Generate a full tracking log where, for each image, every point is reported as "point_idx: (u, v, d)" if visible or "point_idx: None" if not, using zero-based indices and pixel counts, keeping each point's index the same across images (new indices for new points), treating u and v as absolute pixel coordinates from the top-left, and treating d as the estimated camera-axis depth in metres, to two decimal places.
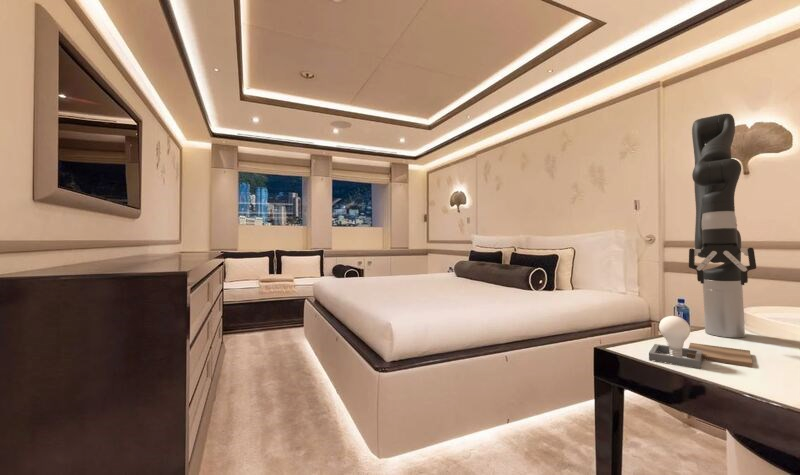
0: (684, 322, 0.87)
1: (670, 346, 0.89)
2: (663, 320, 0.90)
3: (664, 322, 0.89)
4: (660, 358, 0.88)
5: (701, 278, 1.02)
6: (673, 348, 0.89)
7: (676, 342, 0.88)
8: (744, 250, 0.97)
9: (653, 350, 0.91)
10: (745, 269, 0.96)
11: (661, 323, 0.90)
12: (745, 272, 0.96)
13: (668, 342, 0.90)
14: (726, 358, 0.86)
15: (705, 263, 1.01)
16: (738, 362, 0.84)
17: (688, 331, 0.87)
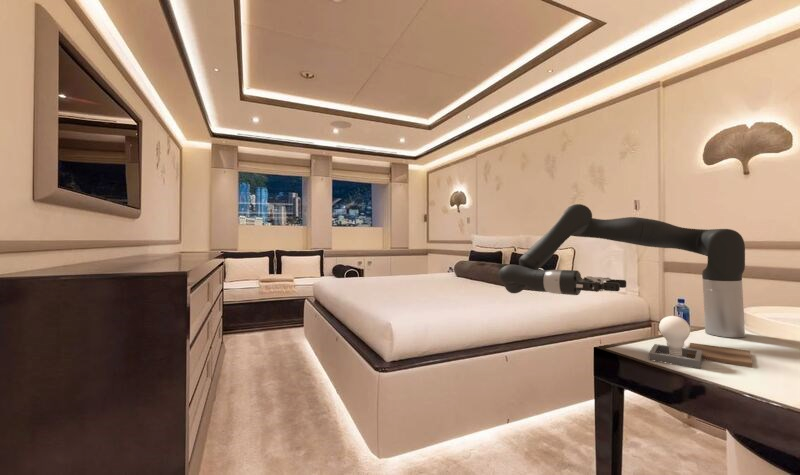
0: (684, 322, 0.87)
1: (670, 346, 0.89)
2: (663, 320, 0.90)
3: (664, 322, 0.89)
4: (660, 358, 0.88)
5: (620, 287, 1.01)
6: (673, 348, 0.89)
7: (676, 342, 0.88)
8: None
9: (653, 350, 0.91)
10: (600, 290, 0.97)
11: (661, 323, 0.90)
12: None
13: (668, 342, 0.90)
14: (726, 358, 0.86)
15: None
16: (738, 362, 0.84)
17: (688, 331, 0.87)
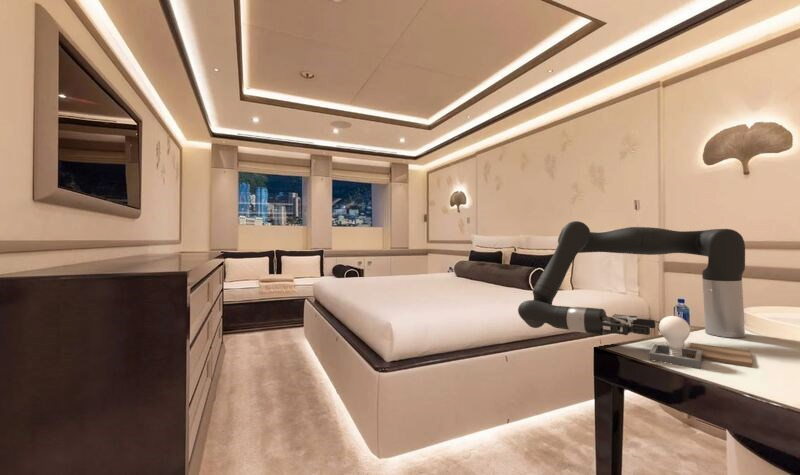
0: (684, 322, 0.87)
1: (670, 346, 0.89)
2: (663, 320, 0.90)
3: (664, 322, 0.89)
4: (660, 358, 0.88)
5: None
6: (673, 348, 0.89)
7: (676, 342, 0.88)
8: None
9: (653, 350, 0.91)
10: (629, 333, 0.92)
11: (661, 323, 0.90)
12: None
13: (668, 342, 0.90)
14: (726, 358, 0.86)
15: None
16: (738, 362, 0.84)
17: (688, 331, 0.87)
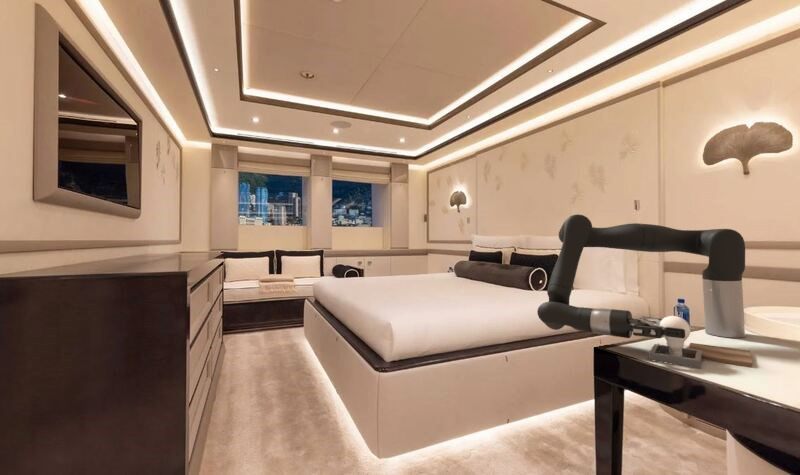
0: (684, 322, 0.87)
1: (670, 346, 0.89)
2: (663, 320, 0.90)
3: (664, 322, 0.89)
4: (660, 358, 0.88)
5: None
6: (673, 348, 0.89)
7: (676, 342, 0.88)
8: None
9: (653, 350, 0.91)
10: (662, 336, 0.88)
11: (661, 323, 0.90)
12: None
13: (668, 342, 0.90)
14: (726, 358, 0.86)
15: None
16: (738, 362, 0.84)
17: (688, 331, 0.87)
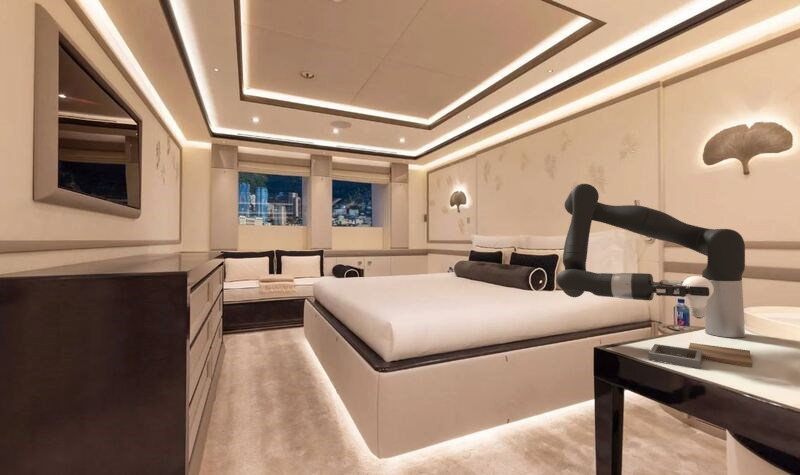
0: (707, 281, 0.88)
1: (693, 306, 0.90)
2: (686, 280, 0.91)
3: (687, 282, 0.90)
4: (660, 358, 0.88)
5: None
6: (697, 308, 0.89)
7: (699, 301, 0.89)
8: None
9: (653, 350, 0.91)
10: (686, 295, 0.88)
11: (684, 283, 0.91)
12: None
13: (691, 302, 0.90)
14: (726, 358, 0.86)
15: None
16: (738, 362, 0.84)
17: (712, 290, 0.87)
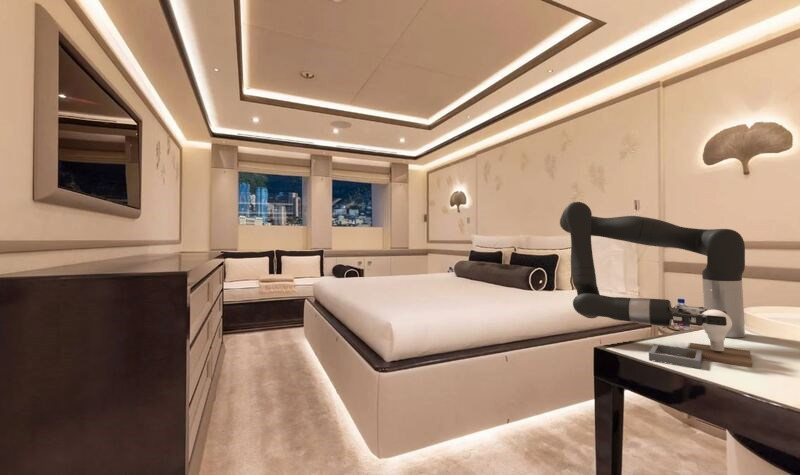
0: (725, 315, 0.89)
1: (711, 339, 0.90)
2: None
3: None
4: (660, 358, 0.88)
5: None
6: (715, 342, 0.90)
7: (718, 335, 0.89)
8: None
9: (653, 350, 0.91)
10: (703, 324, 0.89)
11: None
12: None
13: (709, 335, 0.91)
14: (726, 358, 0.86)
15: None
16: (738, 362, 0.84)
17: (730, 324, 0.88)
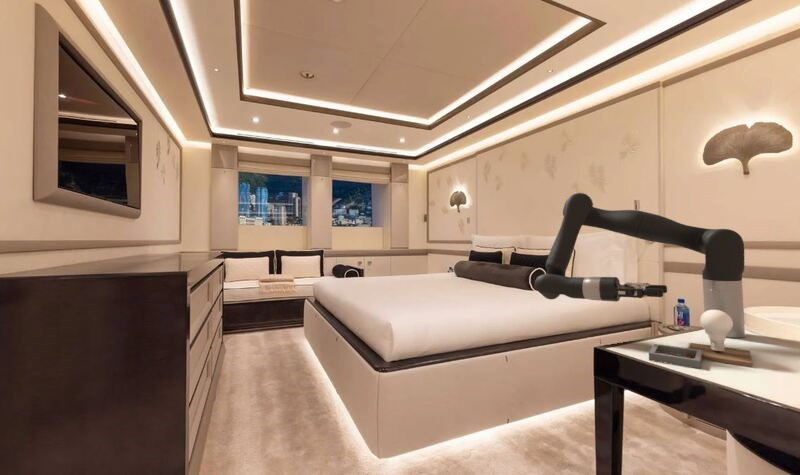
0: (727, 315, 0.89)
1: (712, 339, 0.90)
2: (705, 314, 0.91)
3: (706, 316, 0.90)
4: (660, 358, 0.88)
5: None
6: (716, 342, 0.90)
7: (718, 335, 0.89)
8: None
9: (653, 350, 0.91)
10: None
11: (702, 317, 0.91)
12: None
13: (710, 335, 0.91)
14: (726, 358, 0.86)
15: None
16: (738, 362, 0.84)
17: (731, 324, 0.88)
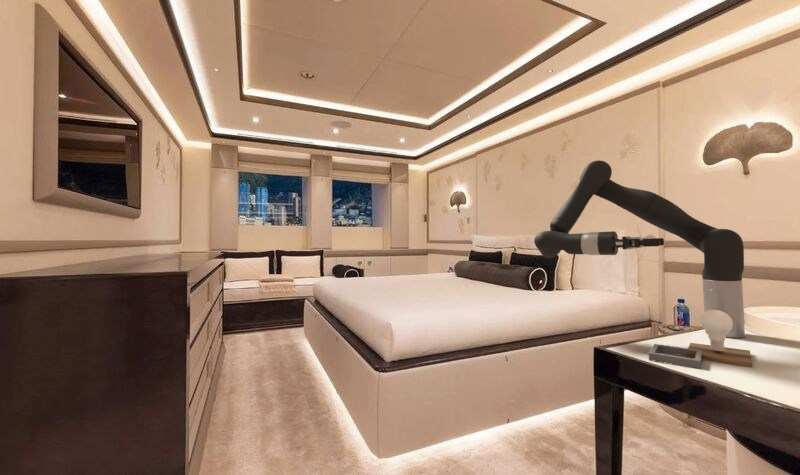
0: (727, 315, 0.89)
1: (712, 339, 0.90)
2: (704, 314, 0.91)
3: (706, 316, 0.90)
4: (660, 358, 0.88)
5: None
6: (716, 342, 0.90)
7: (718, 335, 0.89)
8: None
9: (653, 350, 0.91)
10: (640, 247, 1.00)
11: (702, 317, 0.91)
12: (644, 245, 1.00)
13: (710, 335, 0.91)
14: (726, 358, 0.86)
15: (639, 247, 1.07)
16: (738, 362, 0.84)
17: (731, 324, 0.88)
